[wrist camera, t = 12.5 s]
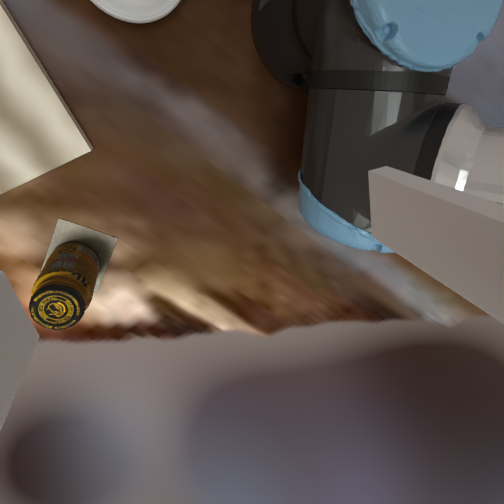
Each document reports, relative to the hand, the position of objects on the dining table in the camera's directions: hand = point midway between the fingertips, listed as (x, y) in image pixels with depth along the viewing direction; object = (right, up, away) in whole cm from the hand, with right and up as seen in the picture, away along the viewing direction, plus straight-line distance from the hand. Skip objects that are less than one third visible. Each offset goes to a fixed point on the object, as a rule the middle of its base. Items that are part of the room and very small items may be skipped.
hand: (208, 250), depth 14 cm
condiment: (-21, -1, +36) cm, 42 cm away
